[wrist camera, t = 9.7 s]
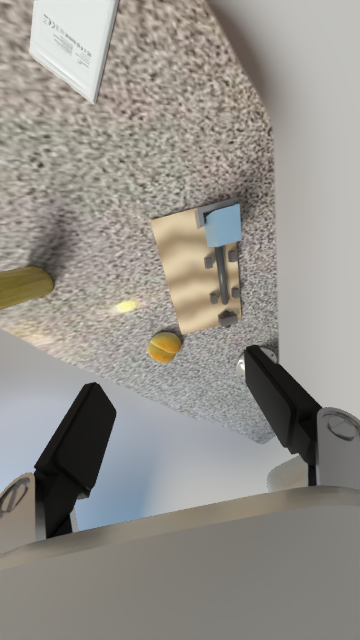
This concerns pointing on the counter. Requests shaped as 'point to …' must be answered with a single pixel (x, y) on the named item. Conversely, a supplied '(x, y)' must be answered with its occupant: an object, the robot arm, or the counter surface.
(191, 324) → the board
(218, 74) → the counter surface
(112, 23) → the external hard drive
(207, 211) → the end holder
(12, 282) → the vase
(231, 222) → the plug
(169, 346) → the bread roll
